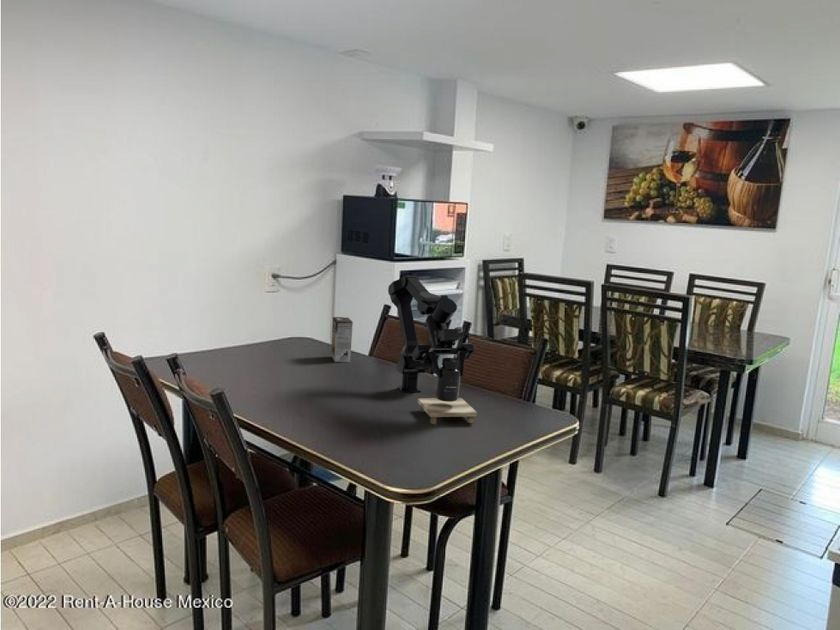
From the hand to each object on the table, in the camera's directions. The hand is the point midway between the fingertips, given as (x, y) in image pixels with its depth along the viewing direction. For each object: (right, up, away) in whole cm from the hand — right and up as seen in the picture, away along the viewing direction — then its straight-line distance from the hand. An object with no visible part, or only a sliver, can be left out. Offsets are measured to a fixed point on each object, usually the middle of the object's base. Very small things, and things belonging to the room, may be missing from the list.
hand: (450, 376), depth 187 cm
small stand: (-1, -12, +3) cm, 13 cm away
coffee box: (-40, 0, +65) cm, 76 cm away
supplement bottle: (-1, -7, +2) cm, 7 cm away
